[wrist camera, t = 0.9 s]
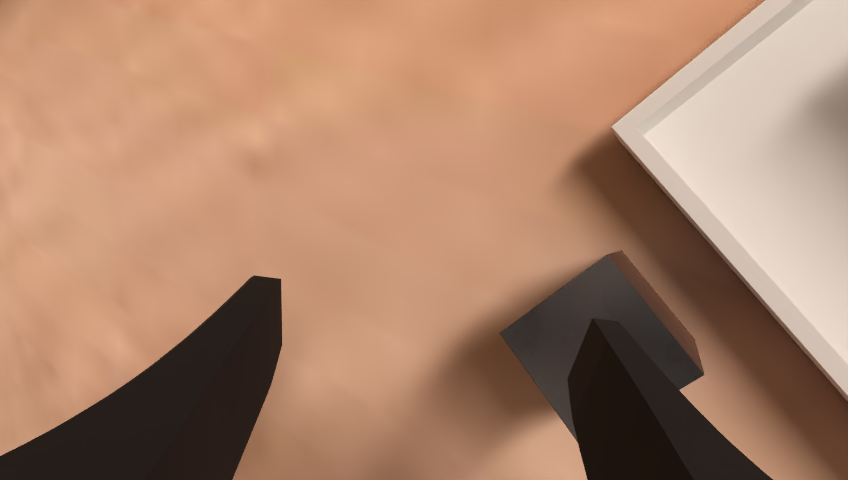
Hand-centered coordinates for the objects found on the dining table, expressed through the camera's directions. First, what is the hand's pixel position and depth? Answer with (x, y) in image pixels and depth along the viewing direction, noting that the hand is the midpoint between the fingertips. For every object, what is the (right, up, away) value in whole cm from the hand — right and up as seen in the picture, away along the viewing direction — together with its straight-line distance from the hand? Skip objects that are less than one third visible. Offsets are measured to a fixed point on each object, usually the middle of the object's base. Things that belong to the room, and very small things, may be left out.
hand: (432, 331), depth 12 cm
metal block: (+8, -1, +10) cm, 13 cm away
